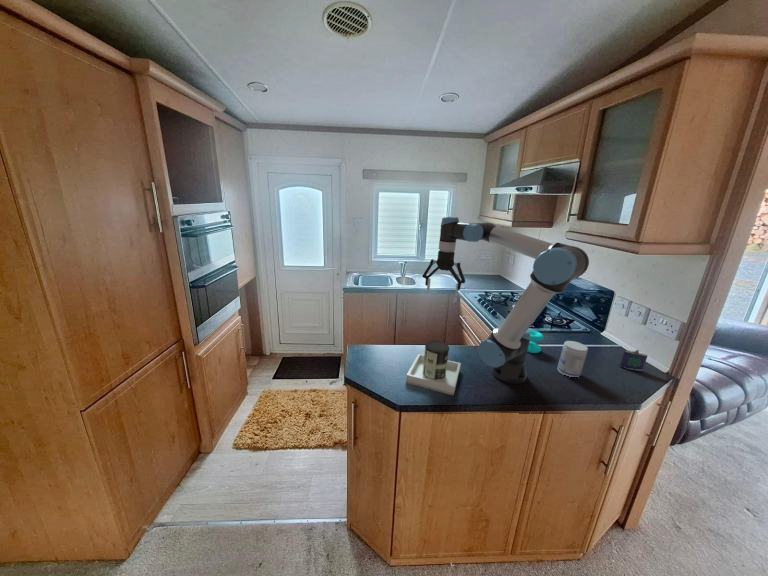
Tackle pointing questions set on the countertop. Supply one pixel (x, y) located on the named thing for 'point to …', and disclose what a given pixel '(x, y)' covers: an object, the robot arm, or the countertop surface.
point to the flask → (633, 359)
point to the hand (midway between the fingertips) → (441, 294)
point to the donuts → (535, 337)
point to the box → (441, 386)
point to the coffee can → (435, 360)
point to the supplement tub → (572, 359)
